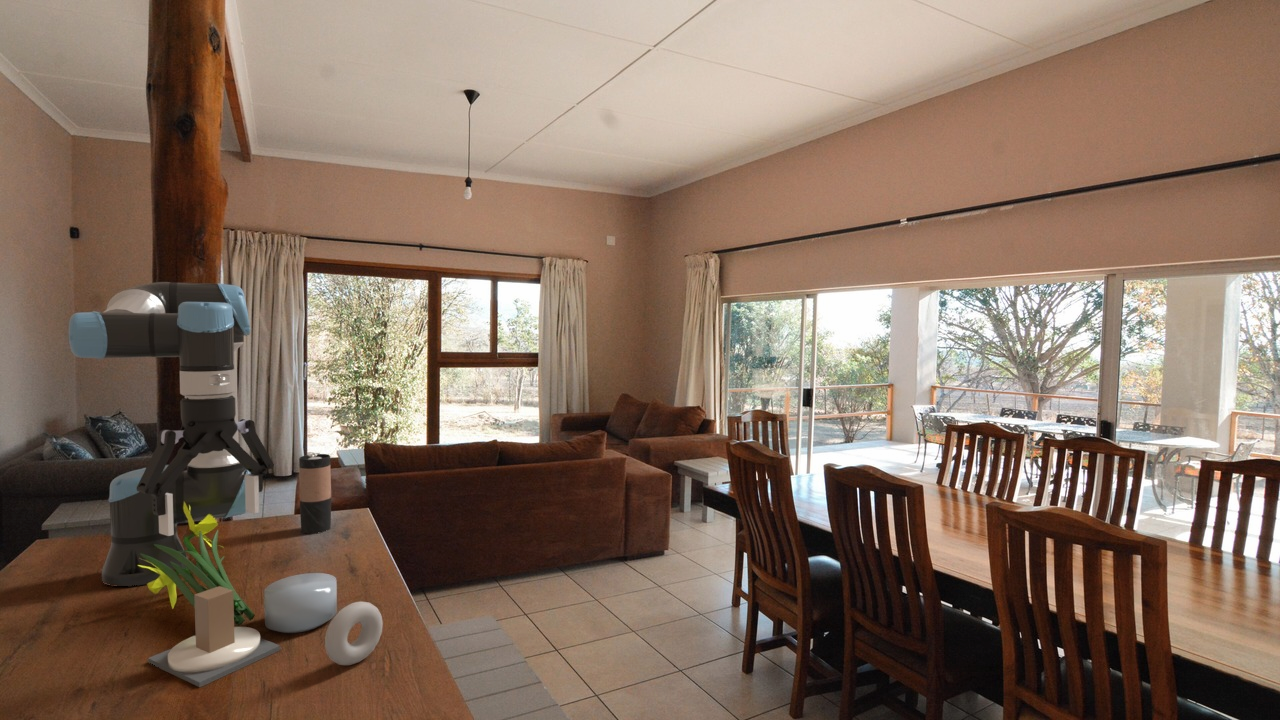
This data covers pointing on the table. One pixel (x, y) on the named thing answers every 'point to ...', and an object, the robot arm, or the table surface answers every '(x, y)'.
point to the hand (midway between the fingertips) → (211, 522)
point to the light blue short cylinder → (300, 602)
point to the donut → (341, 626)
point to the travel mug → (315, 493)
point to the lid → (213, 636)
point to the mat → (212, 675)
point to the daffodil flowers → (195, 568)
